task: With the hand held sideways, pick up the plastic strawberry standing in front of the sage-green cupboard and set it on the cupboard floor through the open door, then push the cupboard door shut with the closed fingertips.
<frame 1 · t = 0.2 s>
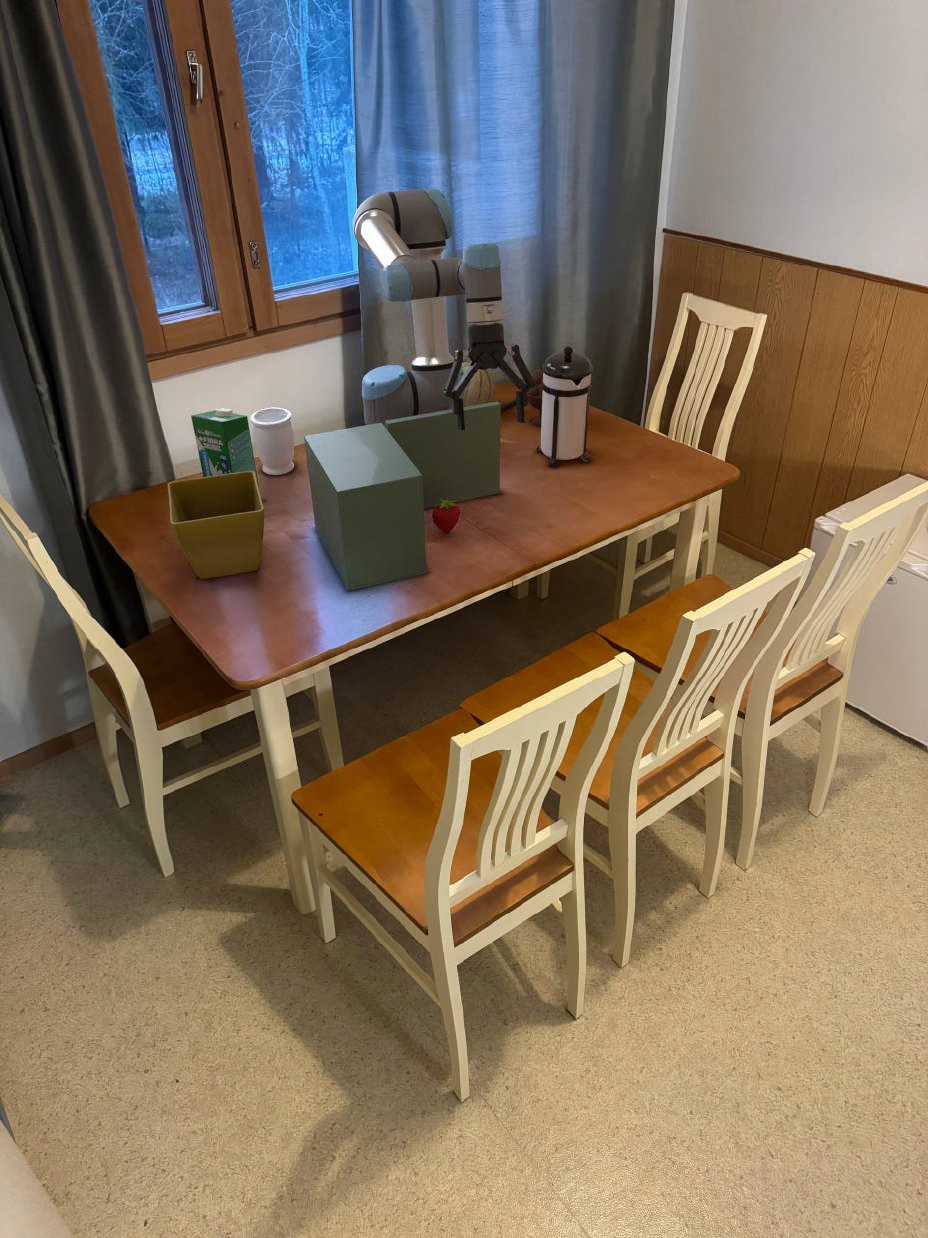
hand: (491, 425, 201), 27 cm above the table, tool tilted 15°, fingers open, 13 cm apart
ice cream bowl: (541, 422, 267), on the table
coffee press: (559, 455, 250), on the table
cupboard: (369, 550, 212), on the table
flower pot: (227, 562, 209), on the table
cupboard door: (440, 453, 224), point 12 cm above the table, hinge at 90.0°
cantaloupe: (469, 412, 273), on the table
milk carton: (235, 506, 230), on the table
strawberry: (446, 534, 217), on the table
jar: (278, 468, 246), on the table
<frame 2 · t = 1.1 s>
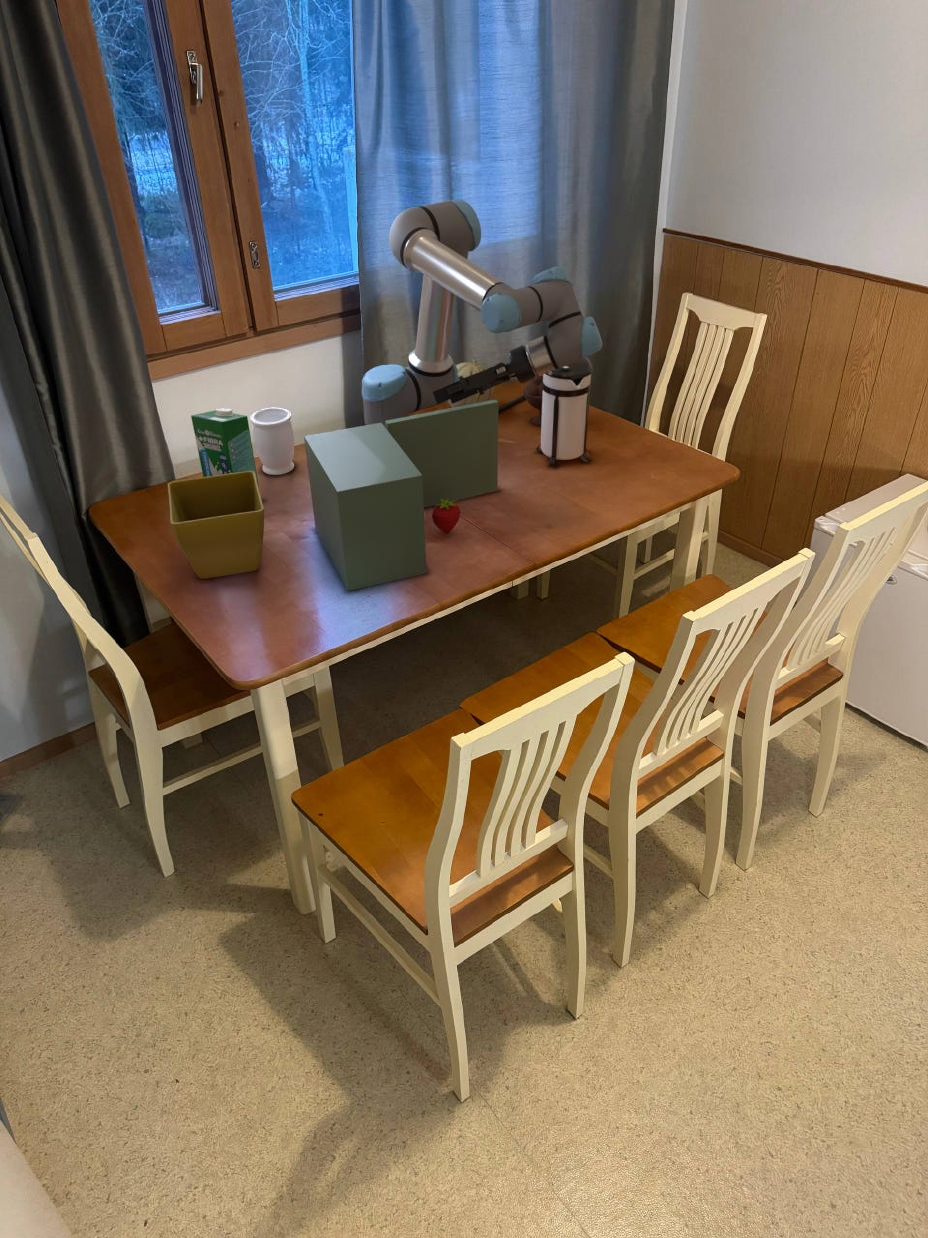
hand: (442, 398, 207), 30 cm above the table, tool tilted 65°, fingers open, 13 cm apart
cupboard door: (439, 452, 225), point 12 cm above the table, hinge at 92.7°
everything else where it was.
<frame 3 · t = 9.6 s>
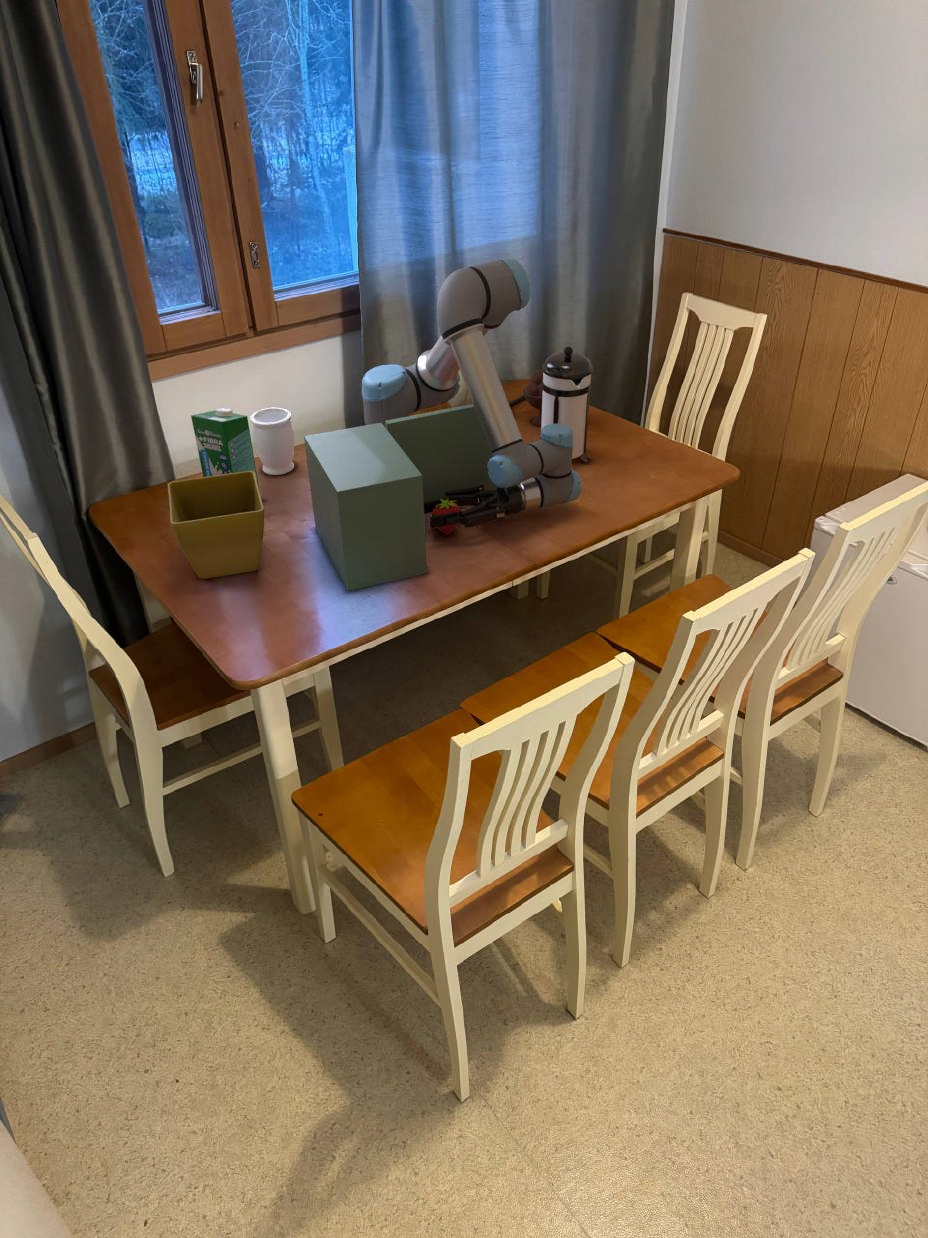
hand: (425, 515, 212), 6 cm above the table, tool horizontal, fingers closed on strawberry, 6 cm apart
strawberry: (447, 534, 217), on the table, touching gripper
everything else where it was.
when the fingers open (7 cm above the table, at t = 18.0 s): strawberry stays where it is, resting on cupboard.
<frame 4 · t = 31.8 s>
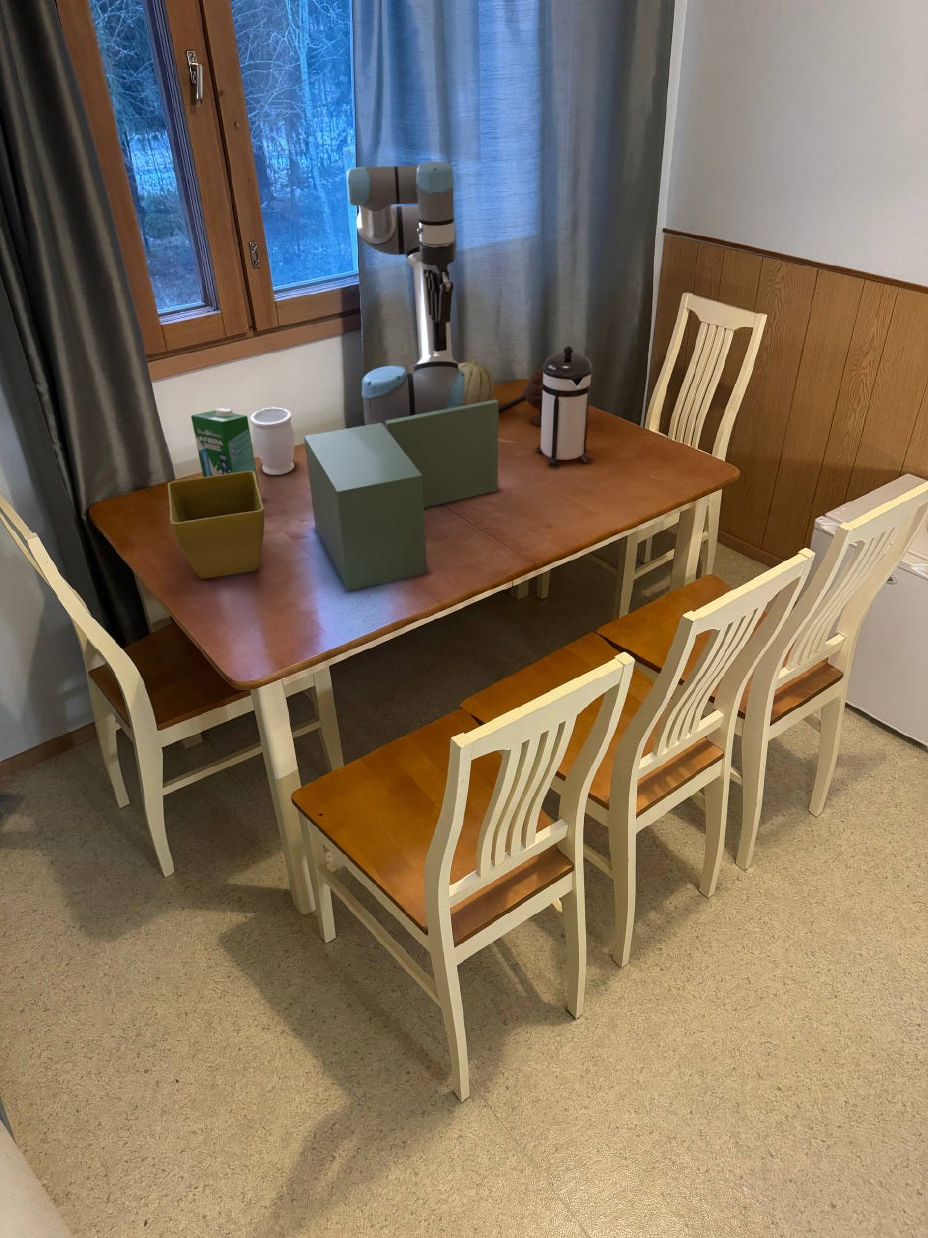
hand: (440, 349, 213), 36 cm above the table, tool pointing down, fingers closed
strawberry: (368, 547, 211), point 1 cm above the table, touching cupboard
everything else where it was.
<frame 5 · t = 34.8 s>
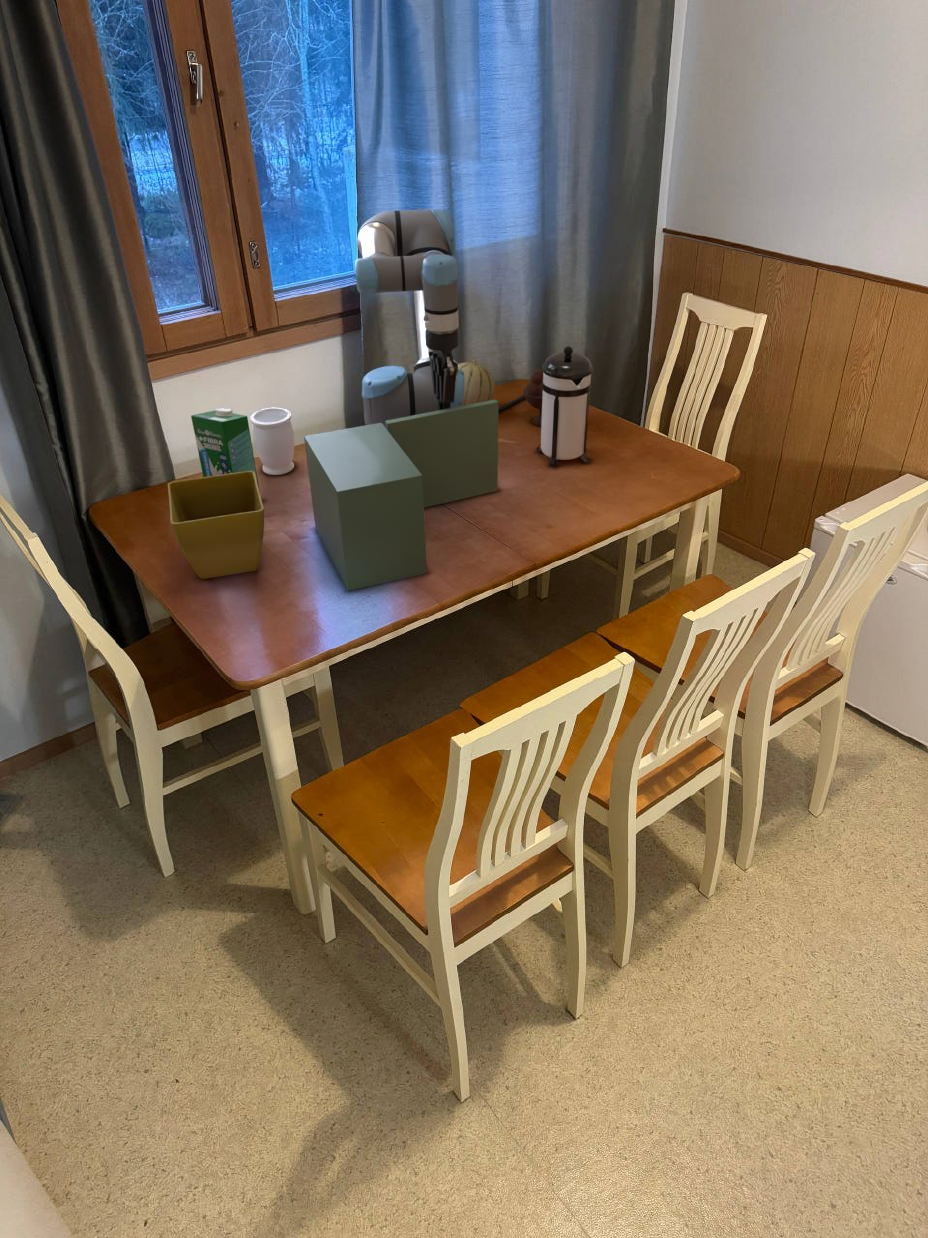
hand: (444, 426, 222), 18 cm above the table, tool pointing down, fingers closed
cupboard door: (439, 452, 225), point 12 cm above the table, hinge at 92.7°, touching gripper
everything else where it was.
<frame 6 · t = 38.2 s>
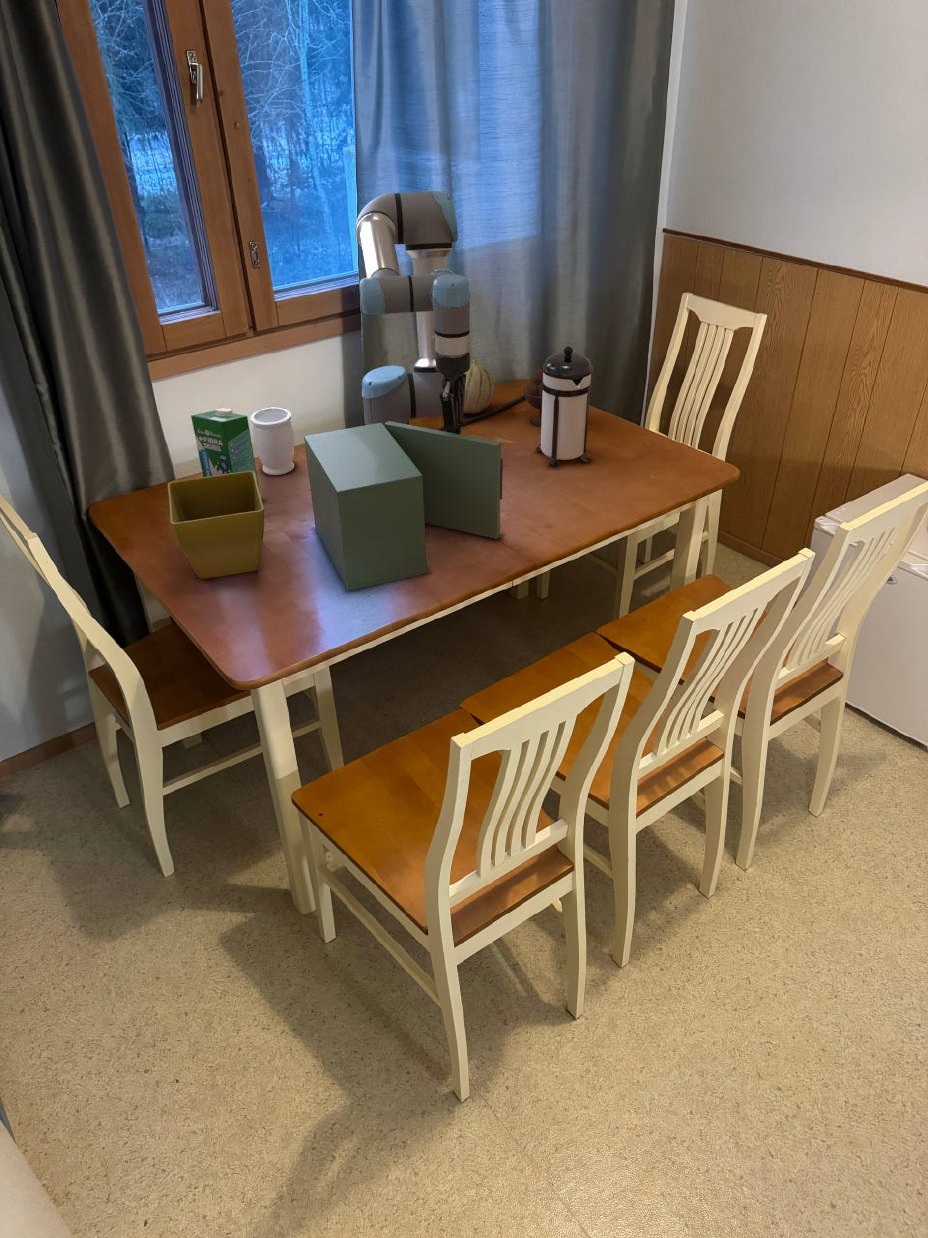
hand: (454, 452, 212), 18 cm above the table, tool pointing down, fingers closed
cupboard door: (448, 474, 215), point 12 cm above the table, hinge at 43.2°, touching gripper
everything else where it was.
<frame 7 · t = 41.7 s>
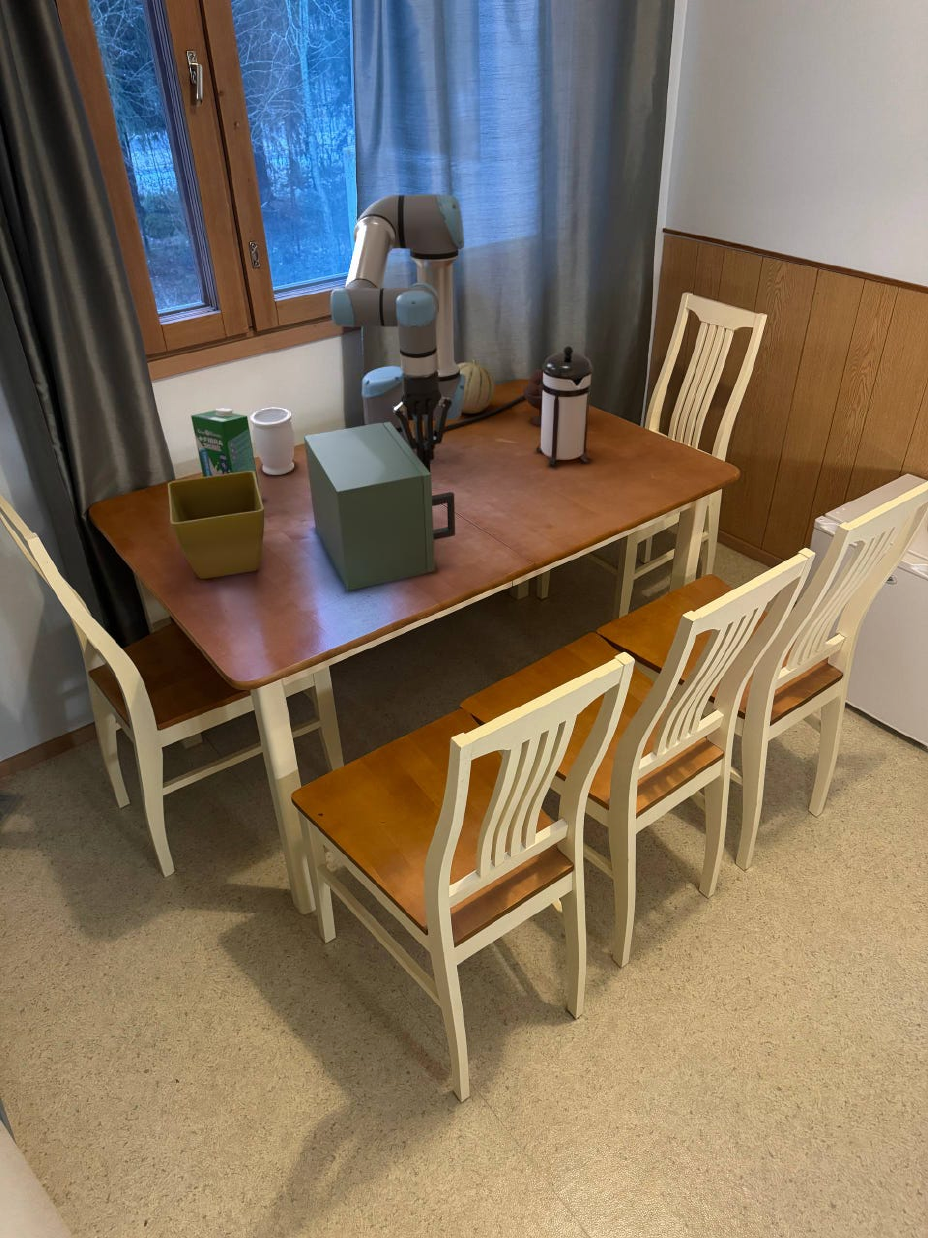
hand: (426, 473, 204), 18 cm above the table, tool pointing down, fingers closed
cupboard door: (420, 493, 208), point 12 cm above the table, hinge at -0.3°, touching gripper
everything else where it was.
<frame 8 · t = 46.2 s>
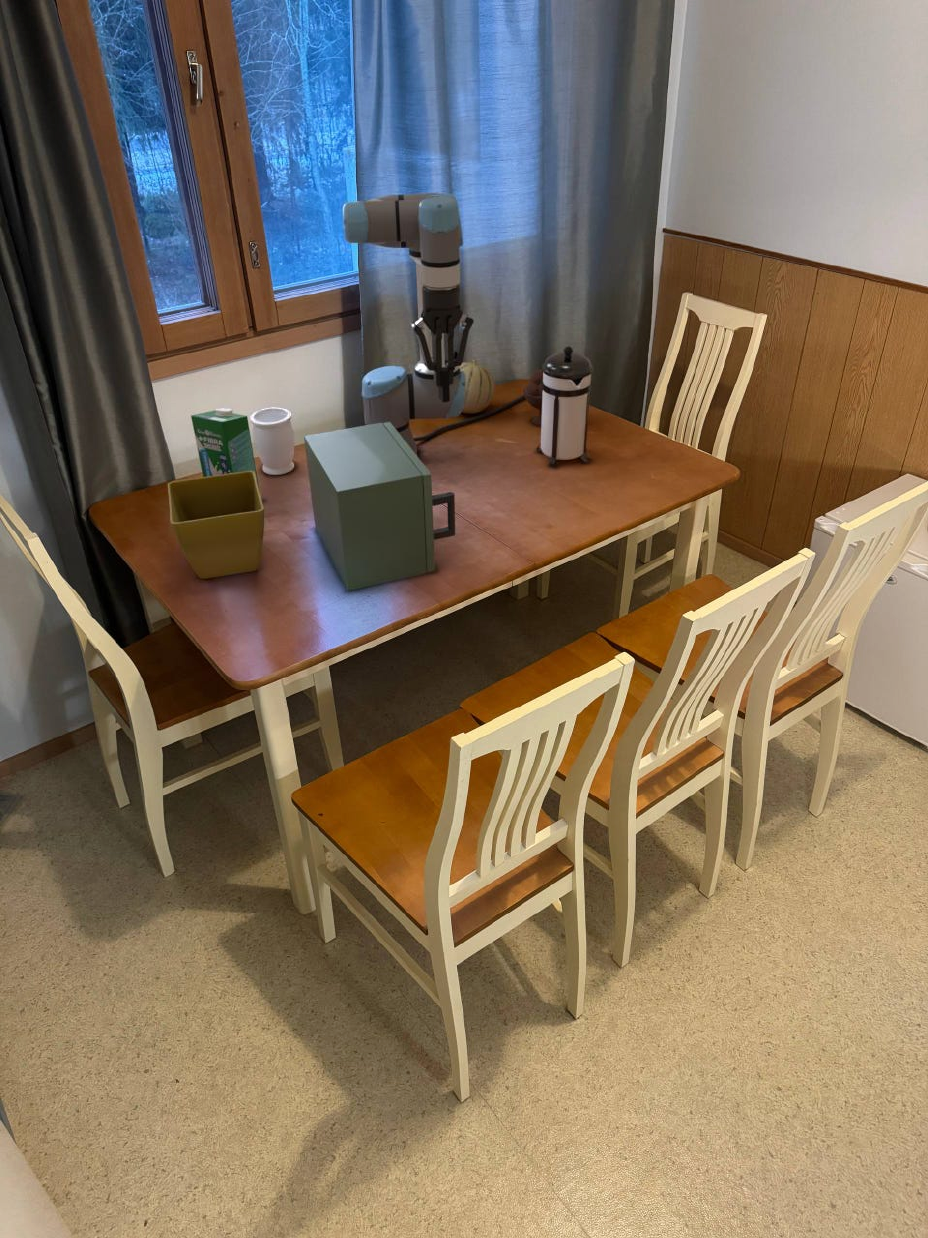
hand: (444, 399, 195), 34 cm above the table, tool pointing down, fingers closed
cupboard door: (420, 493, 208), point 12 cm above the table, hinge at -0.2°
everything else where it was.
at the end: strawberry inside the target area in the cupboard (0.0 cm from its centre), point 0.8 cm above the cupboard's base; cupboard door at +0° (first picture: +90°); strawberry tilted 0° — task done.
